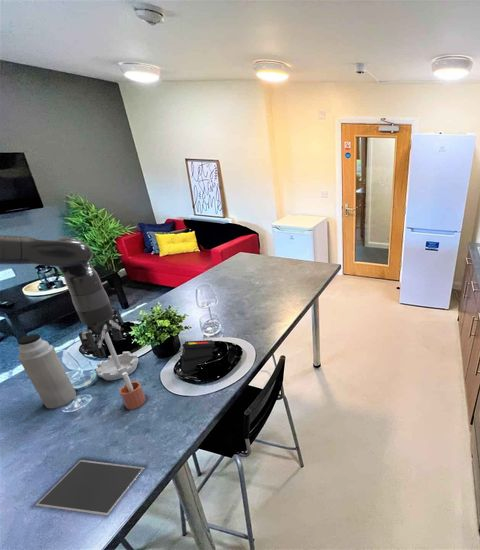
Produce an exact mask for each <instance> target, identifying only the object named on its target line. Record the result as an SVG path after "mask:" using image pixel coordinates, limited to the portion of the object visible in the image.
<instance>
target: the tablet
mask: <svg viewBox="0 0 480 550" xmlns="http://www.w3.org/2000/svg"><path fill="white" fill-rule="evenodd" d="M144 470H145V467H144V466H134V465H126V464H117V463H110V462H101V461H92V460H86V459H85V460H84V459H80V460H79V461H78V462H77V463H76V464H75V465H74V466H73V467H72V468H71V469H70V470H69V471H68V472H67V473H66V474H65V475H63V477H62V478H61V479H60V480H59V481H57V483H56V484H55V485H54V486H53V487H52V488H51V489H50V490H49V491H48V492H47V493H46V494H45V495H44V496H43V497H42V498H40V500H38V501H37V503H36V504H34V506H35V507H41V508H48V509H56V510H63V511H71V512H79V513H85V514H92V515H99V516H100V515H101V516H108V515H109V514H110V513H111V511H112V510H113V509H114V507H116V505H117V504H118V502H119V501H120V500H121V499H122V498H123V496H124V495H125V493H126V492H127V491H128V490H129V488H130V487H131V486H132V484H133V483H134V482H135V481H136V479H137V478H138V477H139V476H140V474H141V473H142V472H143V471H144Z"/></svg>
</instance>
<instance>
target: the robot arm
mask: <svg viewBox="0 0 480 550" xmlns="http://www.w3.org/2000/svg"><path fill="white" fill-rule="evenodd" d="M93 256H94V253H93V250H92V248H91V246H89V245H88V244H87V243H85V242H83V241H82V240H81V239H78V238H76V237H73V236H60V237H57V238H56V239H54V240H49V239H39V238H35V237H32V236H26V235H25V236H23V235H9V234H8V235H7V234H0V266H1V265H4V266H5V265H6V266H7V265H8V266H9V265H38V266H39V265H40V266H49V267H58V269H59V271H60V272H61V274H62V276H63V278H64V281H65V284H66V287H67V289H68V291H69V294H70V297H71V301H72V305H73V306H74V309H75V311H76V313H77V316H78V319H79V320H80V322H81V323H83V324H84V325H85V326H86V330H84V331H83V332H79V333H78V338H79V340H80V343H81V346H82V348H83V351H85V352H89V351H92V352H93V355H94V357H95V358H97V359H103V358H105V357H106V356H107V354H106V352H105V349H104V347H103V346H102V344H103V341H105V338H104V337H105V334H106V333H107V332H108V333H109V332H110V333H111V335H112V338H113V340H114V341H115V342H116V341H117V342H119V341H122V340H124V337H123V334H122V331H121V329H122V327H121V326H123V325H124V320H123V318H122V315H121V313H120V310H119V309H113V306H112V304H111V301H110V298H109V296H108V294H107V291H106V290H105V288H104V285H103V283H102V279H101V278H100V276H99V274H98V272H97V271H96V270H95V268H94V267H93V265H92V262H91V260H92V259H93ZM95 336H96V337H95Z"/></svg>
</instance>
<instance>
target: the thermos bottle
mask: <svg viewBox="0 0 480 550" xmlns="http://www.w3.org/2000/svg"><path fill="white" fill-rule="evenodd" d="M17 344H18V345H19V347H20V348H18V349H17V350H18V351H17V352H18V356H17V358H18V359H17V360H18V361H19V363H20V364H21V366H22V368H23V369H24V371H25V373H26V374H27V376H28V378H29V380H30V382H31V383H32V385H33V387H34V389H35V391H36V392H37V394H38V395H39V397H40V399H41V401H42V403H43V405H44V406H45V408H46V409H51V410H52V409H57V408H61V407H62V406H65V405H67V404H68V403H71V401H73V400H74V399H75V398H76V396H77V392H76V389H75V388H74V385H73V384H72V382H71V380H70V378H69V375H68V374H67V372H66V370H65V368H64V366H63V363H62V362H61V360H60V358H59V355H58V354H57V352H56V350H55V347H54V346H53V345H52V344H50V343H49V342H48V341H47V340H43V339H42V337H41V335H40V334H39V333H32V334H28V335H26V336H23V337H21V338H19V339H18V340H17Z"/></svg>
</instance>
